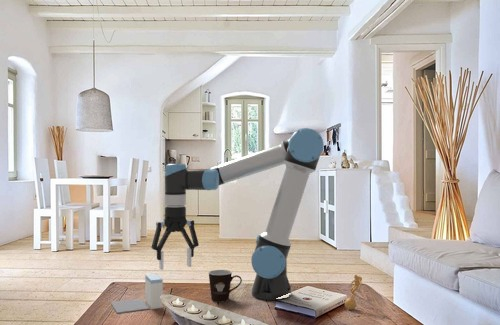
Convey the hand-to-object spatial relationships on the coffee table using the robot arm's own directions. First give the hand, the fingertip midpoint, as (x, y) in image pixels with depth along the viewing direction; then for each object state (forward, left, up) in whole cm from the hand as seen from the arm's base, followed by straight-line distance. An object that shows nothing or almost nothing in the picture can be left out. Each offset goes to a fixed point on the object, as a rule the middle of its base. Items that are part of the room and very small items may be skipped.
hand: (175, 267), depth 170 cm
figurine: (-53, +35, -13) cm, 65 cm away
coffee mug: (-17, +5, -13) cm, 22 cm away
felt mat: (+16, -2, -13) cm, 20 cm away
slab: (+8, 0, -13) cm, 15 cm away
